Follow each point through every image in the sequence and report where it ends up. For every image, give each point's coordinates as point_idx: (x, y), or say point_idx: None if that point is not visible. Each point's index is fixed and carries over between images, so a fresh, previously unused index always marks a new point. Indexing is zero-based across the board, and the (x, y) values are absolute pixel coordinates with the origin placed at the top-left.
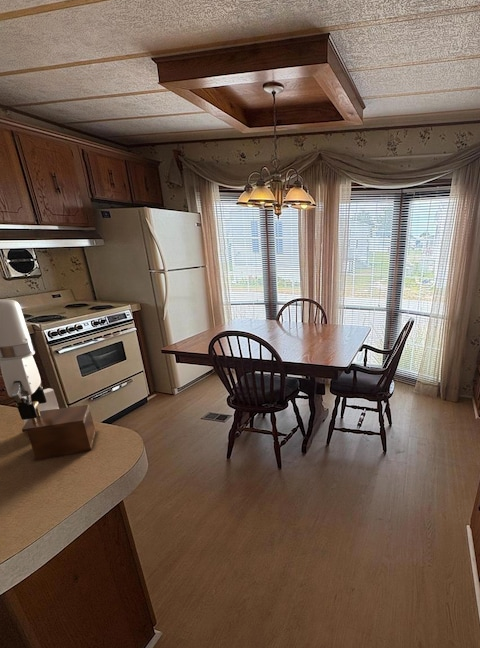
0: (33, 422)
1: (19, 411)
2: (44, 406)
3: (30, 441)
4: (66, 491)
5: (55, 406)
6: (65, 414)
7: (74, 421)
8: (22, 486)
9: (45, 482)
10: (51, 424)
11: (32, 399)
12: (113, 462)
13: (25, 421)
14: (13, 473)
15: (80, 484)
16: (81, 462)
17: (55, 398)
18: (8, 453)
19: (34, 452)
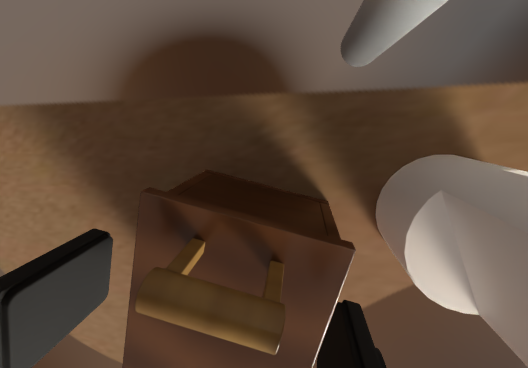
0: (190, 241)
1: (40, 259)
2: (486, 285)
3: (174, 188)
4: (22, 215)
5: (484, 312)
6: (219, 357)
7: (123, 365)
8: (81, 134)
9: (76, 181)
10: (135, 297)
11: (345, 337)
12: (98, 313)
13: (450, 172)
14: (158, 113)
15: (37, 242)
16: (132, 260)
17: (523, 361)
18: (304, 95)
19: (196, 176)
